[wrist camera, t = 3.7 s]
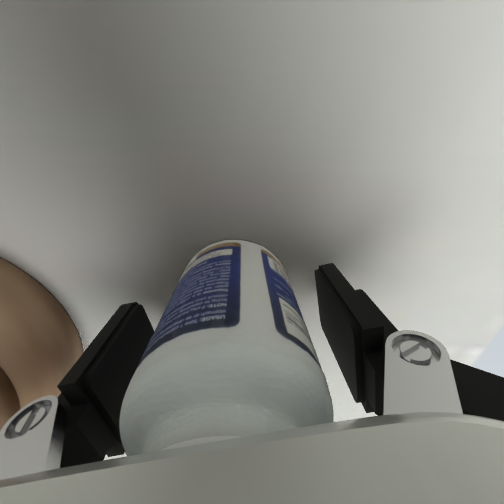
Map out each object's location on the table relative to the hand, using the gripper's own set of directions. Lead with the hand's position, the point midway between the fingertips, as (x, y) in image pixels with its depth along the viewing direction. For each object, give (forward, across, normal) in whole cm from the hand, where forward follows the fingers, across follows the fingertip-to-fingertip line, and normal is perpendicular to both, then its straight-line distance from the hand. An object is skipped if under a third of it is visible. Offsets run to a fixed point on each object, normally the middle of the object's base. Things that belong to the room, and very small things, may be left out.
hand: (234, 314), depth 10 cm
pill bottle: (+3, 0, 0) cm, 3 cm away
